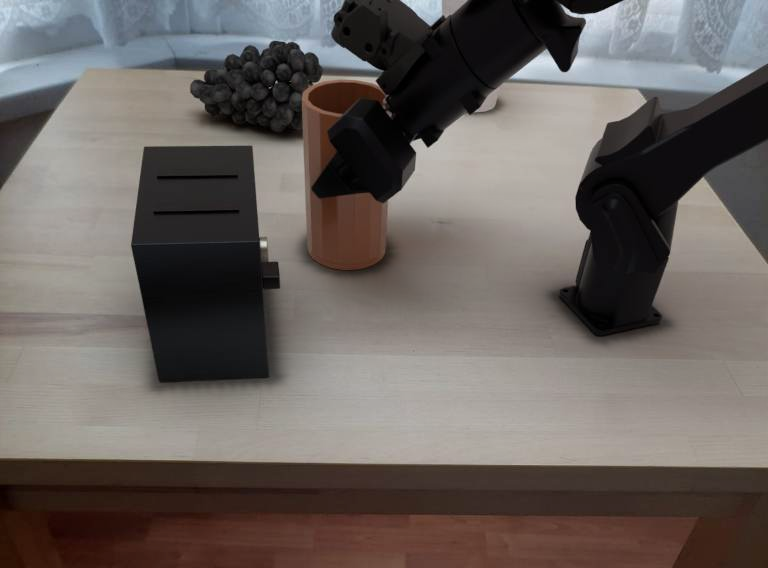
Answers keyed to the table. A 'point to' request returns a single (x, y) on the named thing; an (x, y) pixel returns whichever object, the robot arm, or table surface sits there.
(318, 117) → the brown cylindrical vase
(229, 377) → the toaster
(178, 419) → the table surface
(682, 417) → the table surface
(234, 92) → the fruit
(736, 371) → the table surface
